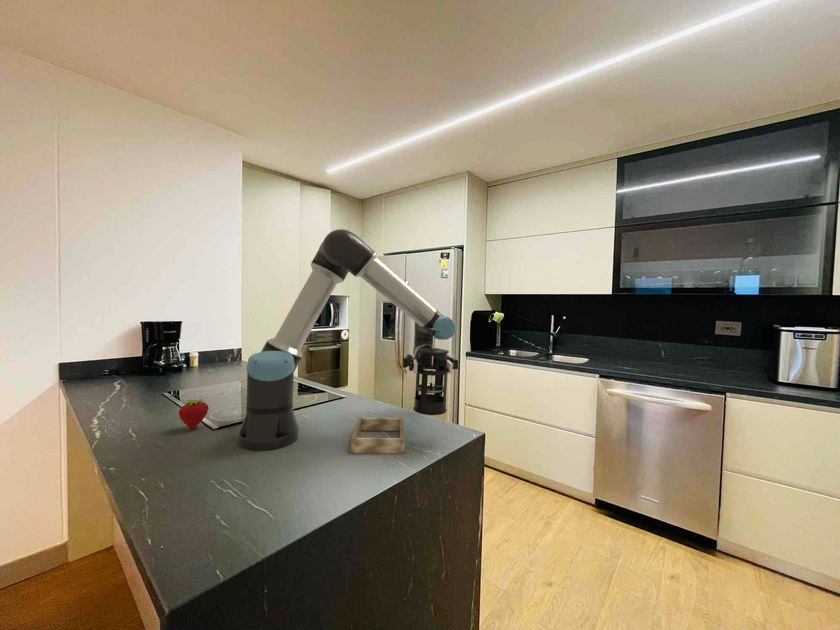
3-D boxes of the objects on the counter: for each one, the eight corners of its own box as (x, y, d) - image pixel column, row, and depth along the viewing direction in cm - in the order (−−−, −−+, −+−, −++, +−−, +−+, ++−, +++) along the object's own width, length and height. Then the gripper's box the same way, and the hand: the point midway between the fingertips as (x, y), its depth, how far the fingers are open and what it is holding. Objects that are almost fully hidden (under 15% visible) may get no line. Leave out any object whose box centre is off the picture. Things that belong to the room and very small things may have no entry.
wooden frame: (350, 452, 85) (351, 439, 85) (358, 429, 102) (358, 417, 102) (404, 453, 86) (404, 439, 86) (402, 429, 103) (403, 418, 103)
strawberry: (212, 427, 99) (213, 393, 99) (184, 435, 93) (185, 399, 93) (201, 423, 102) (202, 390, 102) (173, 430, 96) (174, 395, 95)
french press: (436, 418, 88) (441, 330, 87) (405, 411, 92) (410, 327, 91) (453, 407, 98) (458, 328, 97) (425, 401, 102) (429, 326, 102)
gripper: (457, 368, 113) (472, 383, 91) (393, 366, 112) (392, 381, 89) (458, 345, 113) (473, 355, 91) (394, 344, 112) (393, 353, 89)
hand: (433, 368), depth 90 cm, fingers closed on french press, 9 cm apart
